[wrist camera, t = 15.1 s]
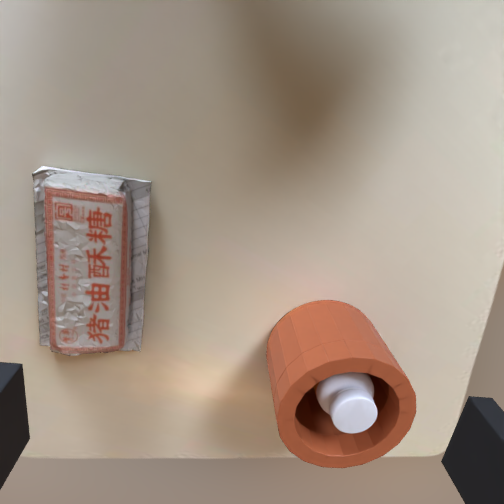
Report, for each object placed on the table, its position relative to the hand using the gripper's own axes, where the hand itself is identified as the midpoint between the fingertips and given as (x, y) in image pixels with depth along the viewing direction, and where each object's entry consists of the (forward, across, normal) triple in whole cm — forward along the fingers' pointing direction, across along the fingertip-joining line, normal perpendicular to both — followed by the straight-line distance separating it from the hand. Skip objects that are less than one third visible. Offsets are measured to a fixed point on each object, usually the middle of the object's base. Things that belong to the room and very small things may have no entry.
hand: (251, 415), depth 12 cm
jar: (+27, +11, -16) cm, 33 cm away
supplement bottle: (+26, +12, -16) cm, 33 cm away
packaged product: (+27, -13, -8) cm, 31 cm away
